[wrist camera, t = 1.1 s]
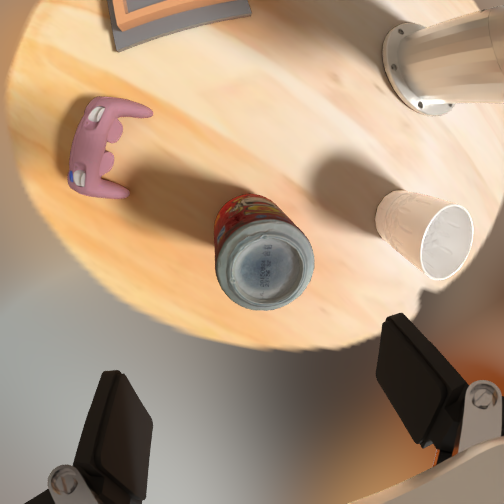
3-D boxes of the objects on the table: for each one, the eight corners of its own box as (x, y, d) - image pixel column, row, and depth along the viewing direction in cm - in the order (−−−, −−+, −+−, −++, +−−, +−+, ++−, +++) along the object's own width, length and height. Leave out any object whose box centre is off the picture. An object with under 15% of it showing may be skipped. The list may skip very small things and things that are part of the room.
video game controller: (128, 102, 26) (80, 89, 20) (159, 108, 26) (111, 92, 19) (103, 189, 29) (54, 192, 23) (131, 202, 28) (81, 207, 22)
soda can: (279, 188, 30) (320, 218, 19) (280, 252, 33) (315, 311, 22) (211, 192, 30) (210, 226, 18) (216, 257, 32) (220, 322, 21)
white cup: (368, 249, 35) (414, 286, 25) (371, 185, 32) (424, 205, 22) (417, 243, 35) (466, 273, 26) (422, 184, 32) (477, 202, 23)
